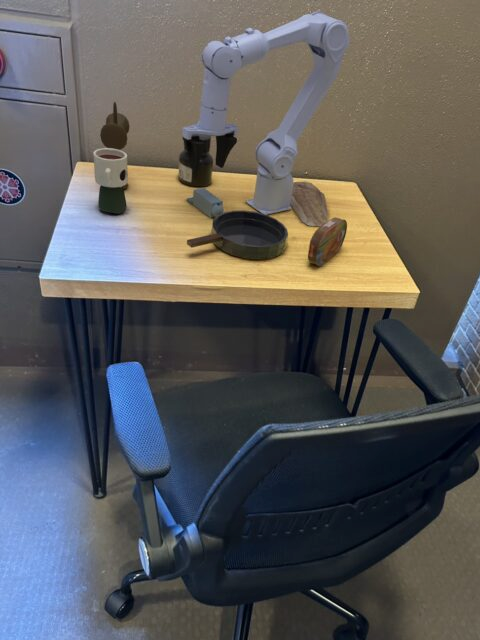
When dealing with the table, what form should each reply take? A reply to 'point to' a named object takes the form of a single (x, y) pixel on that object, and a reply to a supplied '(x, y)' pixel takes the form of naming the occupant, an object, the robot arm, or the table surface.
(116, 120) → the kendama
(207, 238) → the pan handle
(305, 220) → the fish fossil
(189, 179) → the ink bottle
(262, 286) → the table surface
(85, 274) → the table surface
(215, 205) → the grey flat-sided piece
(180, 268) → the table surface
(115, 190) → the character mug
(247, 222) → the pan
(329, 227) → the tin
